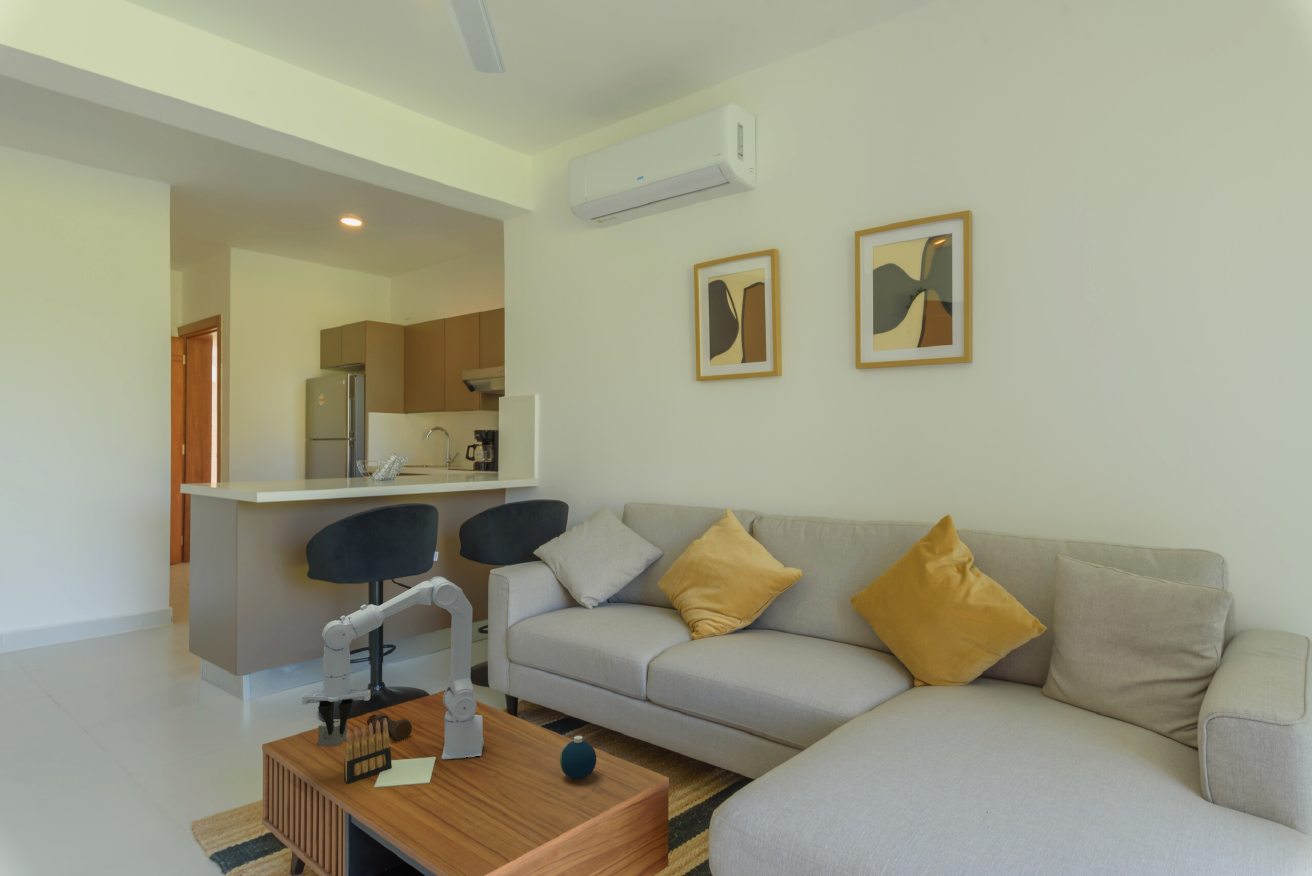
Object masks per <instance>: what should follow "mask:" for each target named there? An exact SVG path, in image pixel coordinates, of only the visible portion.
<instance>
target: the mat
mask: <svg viewBox="0 0 1312 876" xmlns="http://www.w3.org/2000/svg"><path fill="white" fill-rule="evenodd" d="M436 759H437V757H436V756H430V757H416V758H406V759H393V760H392V759H391V763H392V768H391V769H388V770H385V771H382V772H380V773H378V774H379V775H378V776H377V779H376V781H375V783H374V786H373V788H375V789H376V788H388V787H398V786H409V785H411V786H412V785H422V784H430V782H431V778H432V775H433V770H434V766H435V764H436Z"/></svg>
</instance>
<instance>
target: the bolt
mask: <svg viewBox="0 0 1312 876" xmlns="http://www.w3.org/2000/svg"><path fill="white" fill-rule="evenodd" d="M384 718H386V720H387V724H388V733H389V735H391V737H392V738H393V740H394V741H395V742H397V741H399V742H403V741H405V740H407V739H408V738H409V737H410V736H411V734H412V731H413V725H412V724H411V722H410V720H408V719H407V718H402V719H399V720H393V719H390V717H389V716H388V715H387V714H386V713H379V714H371V715H369V716H368V718H367V720H366V724H367V726H369V724H370V722H371V723H372V726H373V732H375V728H376V722H377V720H378V721H379V723H380V727H381V731H383V721H384ZM406 738H407V739H406ZM404 739H405V740H404ZM402 740H403V741H402Z"/></svg>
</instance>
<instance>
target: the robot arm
mask: <svg viewBox="0 0 1312 876" xmlns="http://www.w3.org/2000/svg"><path fill="white" fill-rule="evenodd" d="M432 602H433V603H434V604H435V605H436V606H437V607H439V608H441V609H444V610H446V611H447V612H448V613H450V615H451V627H450V628H451V630H450V659H449V662H450V663H449V678H448V680H447V682H446V689H445V692H444V693H443V696H442V704H443V706H444V707H445V708H446V709H447V710H446V712H445V715H444V746H443V750H442V754H441V760H452V759H453V760H454V759H467V758H466V757H468V758H476V757H475V756H480V757H482V755H483V754H482V753H483V746H484V745H485V744H484V743H485V742H484V740H485V739H484V736H483V732H484V731H483V730H484V729H483V727H484V726H483V725H484V724H483V723H484V722H483V721H484V720H483V715H482V714H475V713H476V711H477V707H478V706H477V700H476V698H475V696H474V687H473V686H474V685H473V682H472V679H471V670H472V669H471V667H472V643H473V642H472V640H473V639H472V638H473V637H472V636H473V611H474V609H473V605H471V603H470V600H469V599H468V598H467V596H466V594H465V593H464V592H463V589H462V588H461V587H459V586H458V585H456V584H455V583H453V582H451V581H450V580H448V579H447V578H445V577H444V576H439V575H438V576H434V577H431V578H430V579H429V580H424V581H422V582H420V583H418V584H417V585H415V586H413V587H410V589H408V590H405V591H403V592H402V593H400V594H398V595H397V596H395V597H392V598H391V599H388V600H387V601H386V602H384V603H382V604H380V605H375V604H373V603H372V604H371V603H370V604H368V605H366V604H363V605H361V606H360V608H359V610H356V611H354V612H352V613H350V614H347V615H346V616H345V615H343V614H342V616H340V617H339V618H340V619H338V620H337V619H335V620H332V621H329V622H327V624H325V626H324V627H323V630H322V633H321V637H322V639H323V640H322V641H324V642H325V643H324V647H323V653H324V654H323V656H322V657H323V658H322V659H323V660H322V661H323V662H322V664H323V665H322V666H323V667H322V668H323V669H322V673H323V675H322V677H323V679H322V681H323V683H322V684H323V686H322V688H323V690H322V691H316V692H315V691H314V692H307V693H303V695H302V696H301V705H308V704H317V703H319V704H318V706H317V707H318V708H317V710H318V712H319V713H320V714H321V716H322V718H323V720H324V722H325V723H326V726H327V730H328V735H331V734H332V733H333V731H334V721H333V719H334V712H335V711H334V709H335V708H334V707H335V702H340V704H339V705H338V710H339V719H340V734H343V733H344V731H345V726H346V721H348V717H349V715H350V714H349V713H350V711H351V709H352V706H353V704H354V702H355V701H362V700H363V701H364V702H365V701H370V699H371V689H358V688H357V689H356V688H355V689H354V688H351V652H350V644H351V642H352V641H353V640H356V639H358V638H360V637H362V636H365V634H368V633H369V632H372V631H375V630H376V629H378V628H379V627H381V626H382V625H383V622H384V620H385V619H386V618H389V617H390V616H392V615H393V616H394V615H395V614H397V613H399V612H401V611H405V610H406V609H408V608H411V607H413V606H415V605H417V604H418V605H423V606H424V605H425V606H426V605H427V606H432Z"/></svg>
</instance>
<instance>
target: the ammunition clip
mask: <svg viewBox="0 0 1312 876" xmlns="http://www.w3.org/2000/svg"><path fill="white" fill-rule="evenodd" d="M361 725H362V726H361V729H360V735H359V730H358V727H357V726H355V727H354V730H353V734H351V730H350V729H349V728H347V733H346V739H345V747H344V759H343V762H344V763H343V764H344V766H343V782H344V783H346V784H348V785H349V784H352V783H354V782H357V781H360V779H361V780H363V779H366V778H369V777H371V776H374V775H377V774H380V772H382V771H385V770H388V769H391V768H392V763H391V760H392V753H391V752H392V751H391V746H390V733H388V724H387V720H386V718H384V721H383V732H381V727H380V723H379V721H378V720H377V722H376V728H375V731H374V730H373V726H372V723H371V722H370V724H369V725H368V728H367V731H366V726H365V724H361ZM374 733H375V734H374ZM359 736H360V737H359ZM352 737H353V738H352ZM352 739H353V740H352Z"/></svg>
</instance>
